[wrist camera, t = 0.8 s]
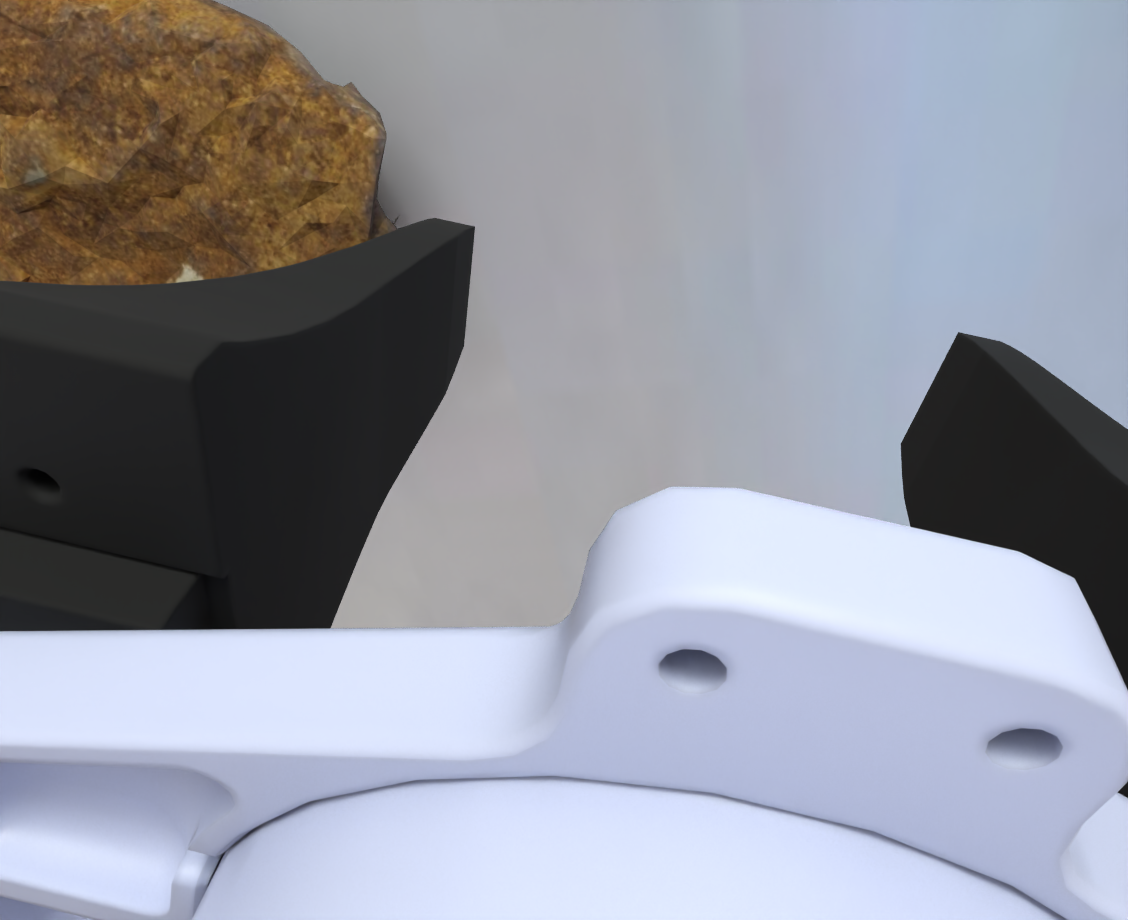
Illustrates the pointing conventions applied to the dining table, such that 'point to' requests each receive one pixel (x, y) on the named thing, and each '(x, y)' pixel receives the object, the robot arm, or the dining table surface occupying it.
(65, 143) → the decorative rock
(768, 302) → the dining table surface
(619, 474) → the dining table surface
